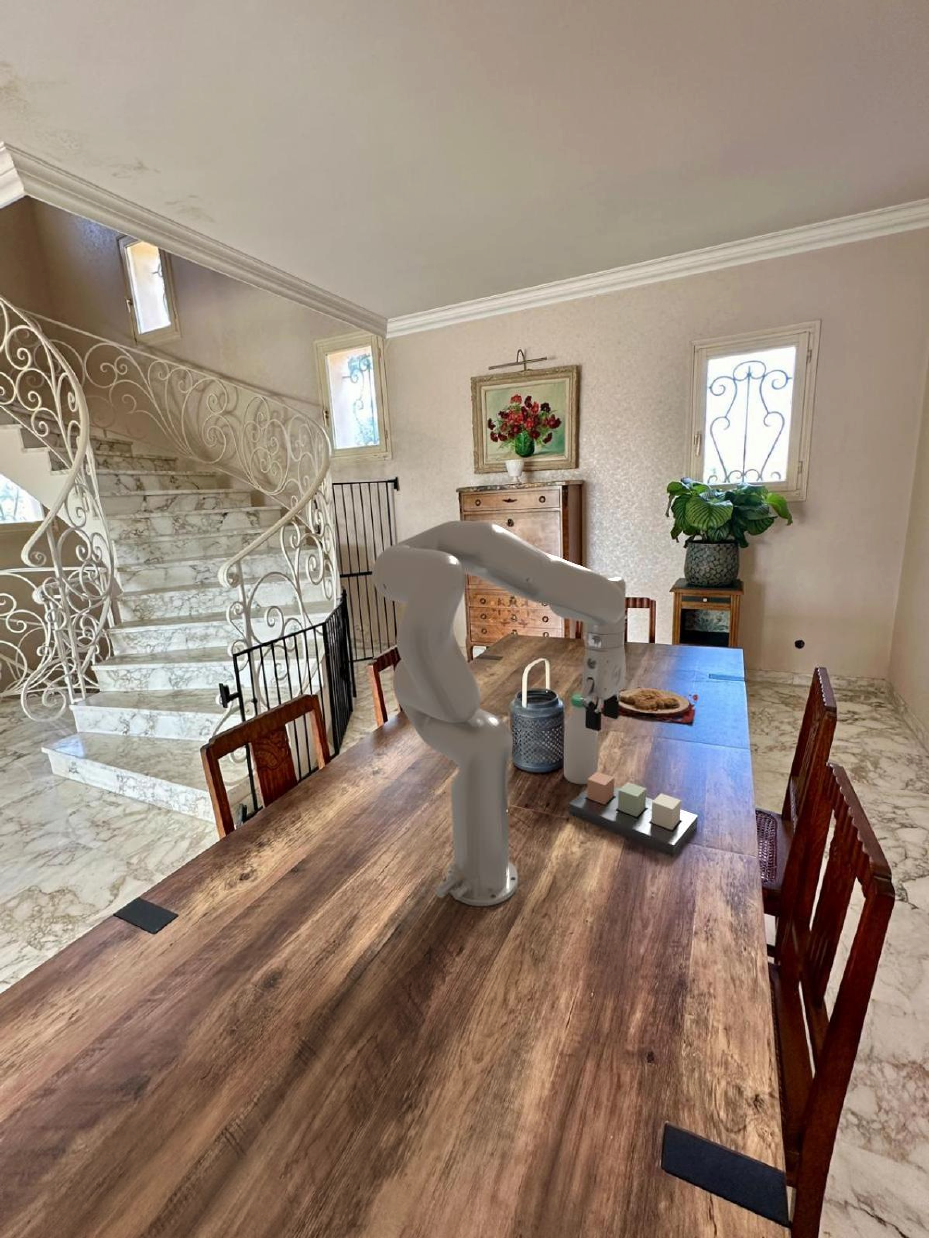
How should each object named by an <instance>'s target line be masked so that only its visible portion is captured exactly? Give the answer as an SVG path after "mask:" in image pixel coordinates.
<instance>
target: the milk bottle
mask: <svg viewBox="0 0 929 1238" xmlns="http://www.w3.org/2000/svg"><path fill="white" fill-rule="evenodd" d="M581 695H582V693H581V694H580V693H579V694H574V695H572V697H571V698H570V702H571V705H570V706H571V713H570V715H569V717H568V719H567V721H566V723H565V727H564V737H563V775H564V778H565V779H566V780H567V781H568V782H570V783H572V784H576V785H587V781H588V778H590V777H591V776H592V775H593V774H595V773H596V772H599V771H598V770H599V769H598V766H599V765H598V764H599V762H598V761H599V760H598V759H599V757H598V756H599V731H595V730H592V729H588V728H586V727H585V716H586V710H584V706H583V703H582V702H581V700H580V697H581ZM591 701H592V702H593V698H592V699H591Z"/></svg>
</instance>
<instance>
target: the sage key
mask: <svg viewBox="0 0 929 1238" xmlns="http://www.w3.org/2000/svg"><path fill="white" fill-rule="evenodd" d="M619 788H620V789H619V792H618V810H620V811H623V812H624V814H627V815H628V814H629V815H630V816H632V817H633V816H634V817H635V818H637V817H639V816H638V815H639V814H640V813H641V812H642V811H643V810H644V809H645V806H646V797H647V788H646V787H644V786H641V785H638V784H635V783H631V782H628V781H627V782H626V783H625V784H623V785H622V787H619Z"/></svg>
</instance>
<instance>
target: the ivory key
mask: <svg viewBox="0 0 929 1238" xmlns="http://www.w3.org/2000/svg"><path fill="white" fill-rule="evenodd" d="M653 800H654V801H653V802H652V818H651V822H652V823H654V824H657V825H656V826H659V827H661V828H665V829H666V830H669V831H670V830H671V831H672V830H674V829H673V828H674V827H675V826H676V824H677V823H678V822H679V821H680V809H681V810H682V808H681V806H682V805H681V804H682V800H681V799H679V798H675V797H673V796H670V795H667V794H664V793H659V795H657V797H655V798H654V799H653Z"/></svg>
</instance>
